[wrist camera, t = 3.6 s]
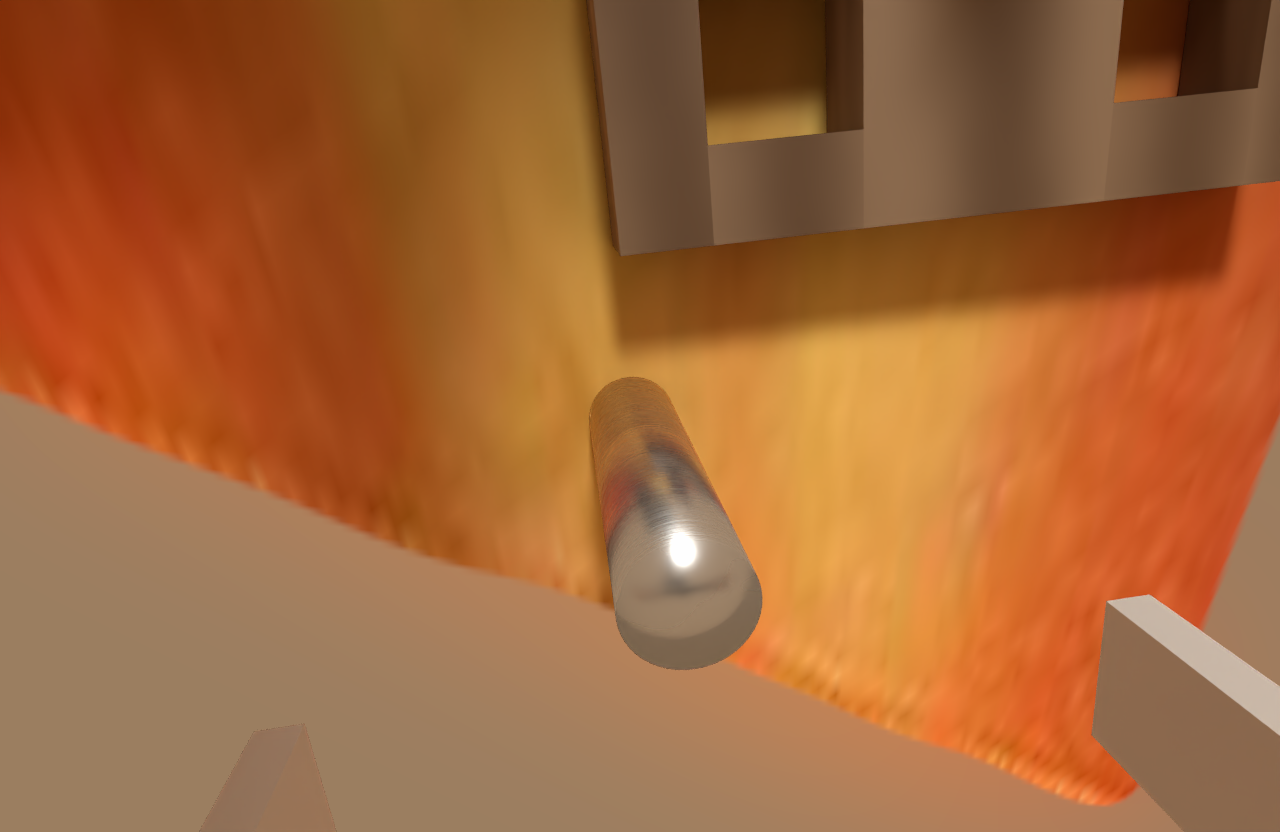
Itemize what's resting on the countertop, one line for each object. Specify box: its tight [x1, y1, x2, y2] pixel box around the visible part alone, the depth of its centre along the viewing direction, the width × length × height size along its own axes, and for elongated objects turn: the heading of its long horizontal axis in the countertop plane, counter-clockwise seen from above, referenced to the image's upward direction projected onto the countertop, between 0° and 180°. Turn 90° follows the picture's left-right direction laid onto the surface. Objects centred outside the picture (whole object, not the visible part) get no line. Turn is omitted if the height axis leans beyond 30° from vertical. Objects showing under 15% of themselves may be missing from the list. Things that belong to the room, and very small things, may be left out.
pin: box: [589, 377, 762, 670], centre depth 21 cm, size 3×3×12 cm
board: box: [586, 0, 1280, 256], centre depth 22 cm, size 22×10×3 cm, turn 96°
